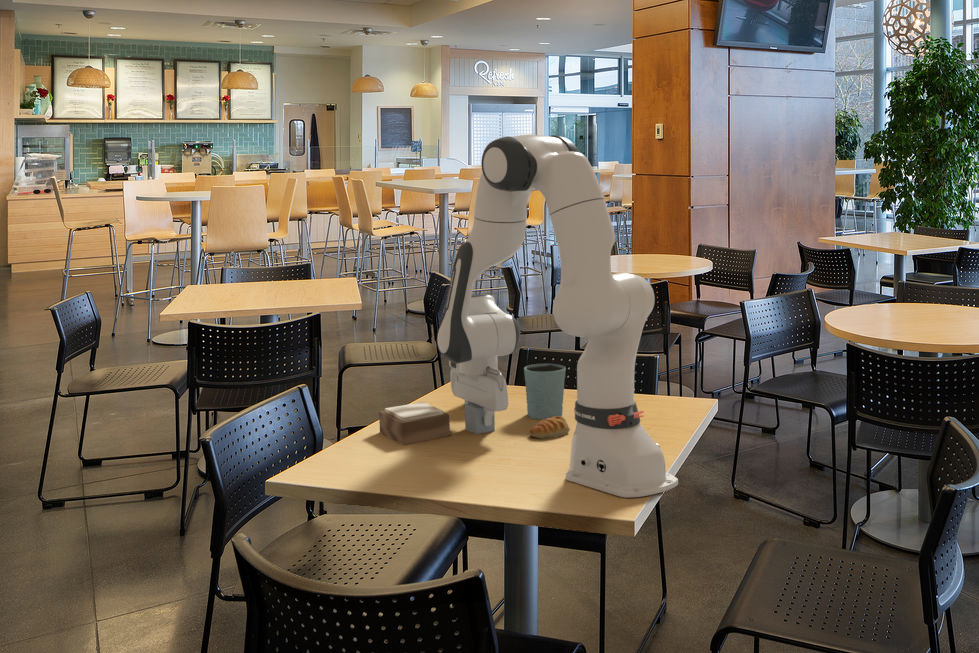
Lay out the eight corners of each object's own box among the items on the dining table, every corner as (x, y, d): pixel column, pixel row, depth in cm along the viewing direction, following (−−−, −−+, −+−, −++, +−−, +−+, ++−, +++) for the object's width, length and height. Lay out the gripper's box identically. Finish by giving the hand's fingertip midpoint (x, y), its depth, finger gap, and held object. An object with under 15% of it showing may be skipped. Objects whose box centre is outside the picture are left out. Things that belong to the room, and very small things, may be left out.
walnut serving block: (449, 435, 204) (449, 411, 203) (402, 444, 198) (401, 419, 197) (425, 424, 214) (424, 400, 213) (379, 432, 208) (378, 408, 207)
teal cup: (521, 419, 216) (521, 371, 214) (527, 409, 226) (526, 362, 224) (563, 420, 214) (563, 372, 212) (567, 410, 224) (567, 363, 222)
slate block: (494, 430, 207) (494, 405, 206) (476, 434, 205) (475, 408, 204) (483, 425, 211) (483, 401, 210) (465, 429, 209) (464, 404, 208)
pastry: (543, 442, 198) (543, 425, 197) (522, 436, 203) (521, 420, 202) (572, 433, 204) (571, 417, 203) (550, 428, 209) (550, 412, 208)
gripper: (514, 369, 198) (515, 429, 200) (468, 355, 215) (469, 410, 218) (490, 373, 195) (491, 434, 197) (445, 358, 212) (447, 414, 214)
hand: (479, 422), depth 208 cm, fingers closed on slate block, 5 cm apart
